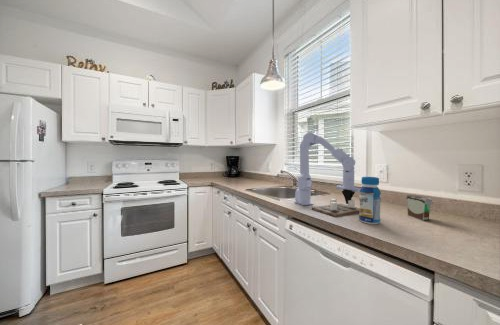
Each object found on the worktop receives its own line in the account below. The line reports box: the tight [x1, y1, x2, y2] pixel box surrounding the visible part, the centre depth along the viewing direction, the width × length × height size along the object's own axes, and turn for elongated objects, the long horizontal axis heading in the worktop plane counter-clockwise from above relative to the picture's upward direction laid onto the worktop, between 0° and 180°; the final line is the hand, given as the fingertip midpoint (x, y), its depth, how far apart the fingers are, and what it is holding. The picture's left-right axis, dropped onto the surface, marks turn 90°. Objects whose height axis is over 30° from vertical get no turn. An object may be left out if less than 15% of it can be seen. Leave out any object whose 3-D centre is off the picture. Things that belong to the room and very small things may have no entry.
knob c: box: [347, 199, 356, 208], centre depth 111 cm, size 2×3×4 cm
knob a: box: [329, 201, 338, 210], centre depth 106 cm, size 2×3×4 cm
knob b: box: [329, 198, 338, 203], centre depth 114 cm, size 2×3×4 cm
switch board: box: [311, 203, 360, 218], centre depth 111 cm, size 16×22×2 cm
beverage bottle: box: [358, 176, 382, 225], centre depth 92 cm, size 8×8×20 cm
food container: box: [405, 194, 434, 222], centre depth 98 cm, size 12×6×10 cm, turn 179°
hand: (348, 203), depth 113 cm, fingers closed
